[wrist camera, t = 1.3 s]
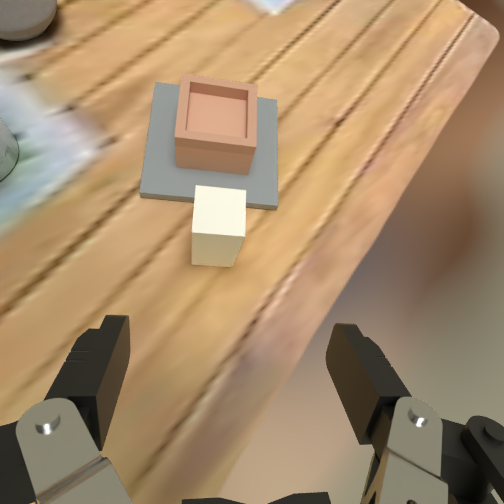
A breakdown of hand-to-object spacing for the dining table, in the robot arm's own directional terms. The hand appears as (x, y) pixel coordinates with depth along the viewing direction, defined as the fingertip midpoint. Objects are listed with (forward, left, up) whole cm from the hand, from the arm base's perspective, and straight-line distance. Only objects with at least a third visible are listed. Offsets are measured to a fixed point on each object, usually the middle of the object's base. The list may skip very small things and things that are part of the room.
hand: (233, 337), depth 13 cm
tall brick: (-5, +11, -22) cm, 25 cm away
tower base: (-11, +23, -22) cm, 33 cm away
